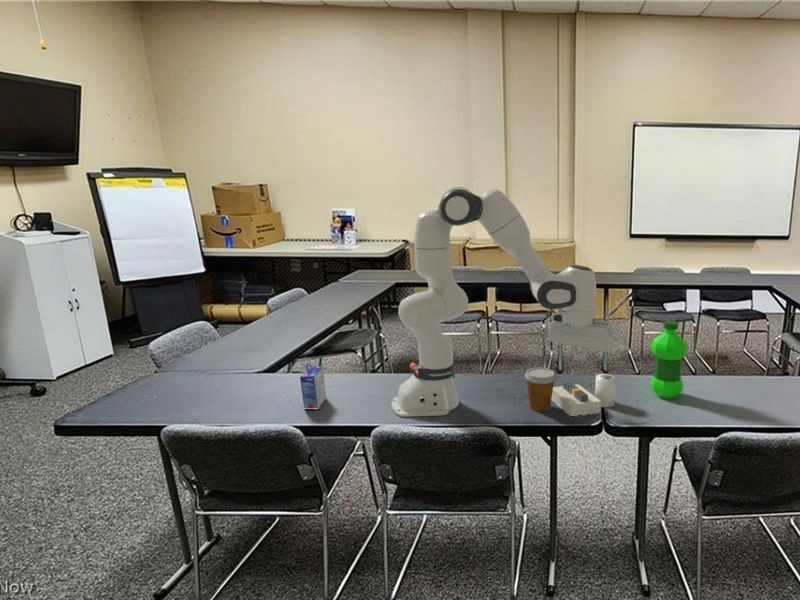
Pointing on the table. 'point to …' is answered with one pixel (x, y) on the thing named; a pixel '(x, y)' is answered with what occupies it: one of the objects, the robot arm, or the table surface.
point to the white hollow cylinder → (605, 389)
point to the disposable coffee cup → (540, 388)
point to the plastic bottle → (668, 361)
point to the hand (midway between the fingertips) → (579, 359)
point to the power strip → (575, 399)
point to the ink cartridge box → (313, 386)
